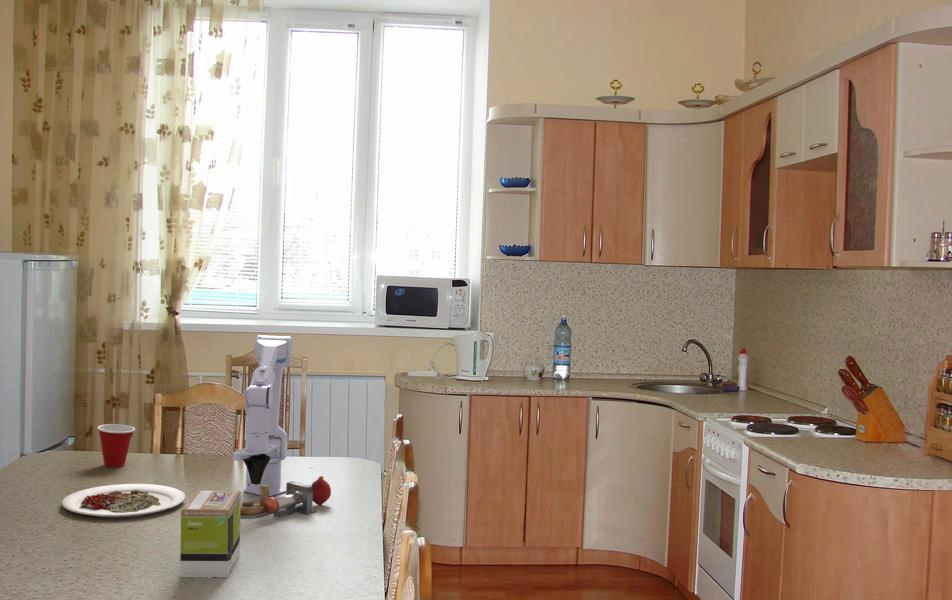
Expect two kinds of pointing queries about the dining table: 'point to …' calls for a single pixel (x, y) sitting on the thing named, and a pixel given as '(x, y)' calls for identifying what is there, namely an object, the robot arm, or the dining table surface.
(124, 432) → the plastic cup
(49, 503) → the dining table surface
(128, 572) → the dining table surface
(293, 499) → the copper capped rod
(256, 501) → the handwheel
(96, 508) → the plated food
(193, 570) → the tea box
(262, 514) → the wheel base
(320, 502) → the pomegranate
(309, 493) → the eye bracket
